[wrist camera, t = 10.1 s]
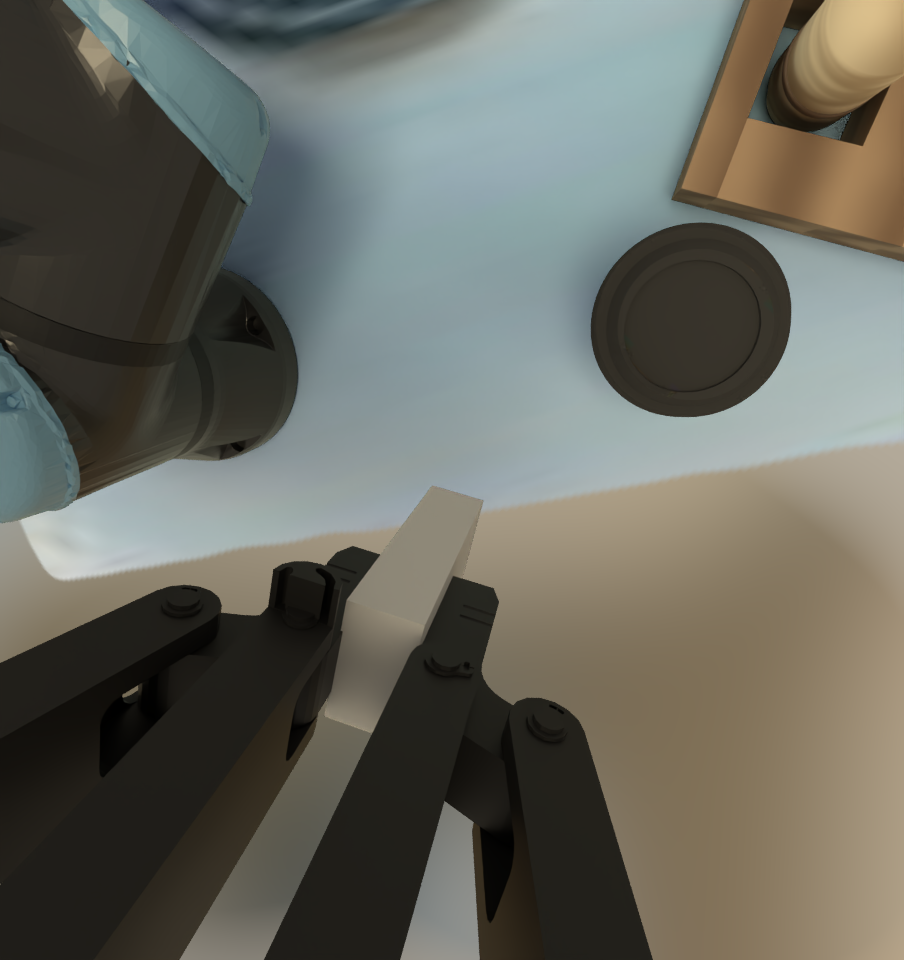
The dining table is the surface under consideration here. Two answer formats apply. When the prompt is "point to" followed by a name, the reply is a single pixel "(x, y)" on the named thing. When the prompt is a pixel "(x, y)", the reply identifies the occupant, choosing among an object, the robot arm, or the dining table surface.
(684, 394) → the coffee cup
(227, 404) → the robot arm
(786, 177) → the board
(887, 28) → the peg
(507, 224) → the dining table surface
